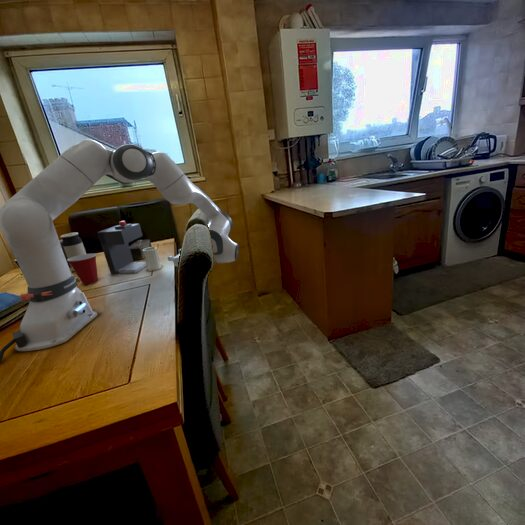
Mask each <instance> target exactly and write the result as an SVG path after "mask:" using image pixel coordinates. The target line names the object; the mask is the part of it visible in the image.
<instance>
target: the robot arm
mask: <svg viewBox="0 0 525 525" xmlns="http://www.w3.org/2000/svg"><path fill="white" fill-rule="evenodd" d="M104 176H106V177H108V178H110V179H112V180H113V181H115V182H117V183H120V184H124V185H129V184H133V183H136V182H139V181H141V180H143V179H144V180H147V181H149V182H150V183H151V184H153V185H154V187H155V188H156V189H157V191H158V192H159V193H160V194H161V195H162V196H163V198H164V199H165V200H166V201H167V202H169V203H170V204H172V205H175V206H184V205H187V204H192V205H194V206H196V208H197V209H198V210H199V211H200V212H202V214H203V215H205V217H206V218H207V222H208V223H207V225H208V227H209V231H210V235H211V240H212V245H213V252H214V262H213V263H217V264H225V263H233V262H235V261H237V259H238V258H239V257H238V256H239V252H240V248H239V247H240V246H239V244H238V243H237V242H234V240H232V239H231V238H230V237H229V234H230V232H231V231H232V230H233V227H234V223H233V220H232V218H231V217H230V216H229V215H228V214H227V213H226V212H224V211H223V210H222V209H220V208H219V207H218V206H217V205H216V204H215V203H214V201H213V200H212V199H211V198H210V197H209V196H208V195H207V193H205V191H204V190H202V189H201V187H199V186H198V185H197V184H194V183H193V182H192V180H190V179H189V177H188V176H187V175H186V174H185V173H184V172H183V171H182V169H181V168H180V167H179V166H178V164H177V163H176V162H175V161H174V160H173V159H172V158H171V157H170V156H168V154H167V153H165V152H164V151H163V152H162V151H155V152H150V151H147V150H145V149H143V148H142V147H140V146H139V145H135V144H132V143H128V144H127V143H126V144H122V145H120V146H118V147H117V148H116V149H113V150H112V149H107V148H106V147H105V146H103V144H101V143H100V142H98V141H97V140H93V139H90V138H87V139H83V140H81V141H78V142H77V143H75V144H74V145H72V146H71V147H69V148H67V149H66V150H65V151H63V152H62V153H61V154H60V155H59V156H57V157H56V158H55V159H54V160H52V162H50V164H48V165H47V166H46V167H45V168H44V169H42V171H40V172H39V173H38V174H37V175H36V176H35V177H33V178H32V179H31V180H30V181H28V183H26V184H25V185H24V186H23V187H22V188H21V189H20V190H18V191H17V192H16V193H15V194H14V195H12V196H11V197H10V198H9V199H8V200H6V201H5V202H4V203H3V204H2V206H1V207H0V230H1V233H2V234H3V236H4V239H5V241H6V243H7V245H8V246H9V248H10V250H11V252H12V255H13V257H14V259H15V261H16V263H17V265H18V267H19V269H20V271H21V273H22V276H23V278H24V280H25V282H26V284H27V293H20V294H19V300H20V301H21V302H24V301H28V302H29V303H28V305H27V308H26V310H25V312H24V315H23V317H22V320H21V322H20V324H19V330H16V331H14V332H12V336H13V337H12V338H13V339H11V340H10V341H9V342H8V343H6V344H5V345H4V346H3V347H2V348H1V349H0V363H1V362H2V360H3V358H4V354H5V353H6V351H7V350H8V349H10V347H12V346H13V345H14V344H15V346H14V349H15V351H17V352H32V351H39V350H45V349H48V348H53V347H56V346H58V345H59V346H60V345H61V344H65V343H66V342H68V341H69V340H70V339H72V338H73V337H74V336H75V335H76V334H78V332H80V331H81V330H82V329H83V328H84V327H86V326H87V325H88V324H89V323H91V321H93V320H94V319H95V318H97V317H98V315H99V314H98V313H97V311H96V310H93V309H92V306H91V304H90V302H89V301H88V298H87V297H86V294H85V293H84V291H83V292H82V290H81V289H79V288H78V283H77V278H76V277H75V276H74V274H73V273H72V271H71V269H70V267H69V266H68V264H67V261H66V258H65V256H64V253H63V250H62V247H61V244H60V241H59V240H60V238H59V235H58V233H57V229H56V227H55V225H54V220H55V219H57V218H58V217H59V216H60V215H61V214H63V213H64V212H66V210H68V209H69V208H70V207H71V206H73V205H74V204H75V203H76V202H78V201H79V199H81V198H82V196H84V195H85V194H86V193H87V192H88V191H89V190H90V189H91V188H92V187H93V186H94V185H95V184H96V183H97V182H98V181H99V180H100V179H101V178H103V177H104ZM181 249H182V248H179V249H177V252H178V254H176V255H175V256H173V255H169V256H168V257H167V261H169V262H172V263H173V266H174V267H178V262H179V256H180V251H181ZM178 268H179V267H178Z"/></svg>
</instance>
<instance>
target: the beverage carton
mask: <svg viewBox="0 0 525 525" xmlns="http://www.w3.org/2000/svg"><path fill="white" fill-rule="evenodd" d="M151 242H152V241H151V239H137V240H136V241H135V242H134V243H132V244H131V245H129V248H130V251H131V255H132V258H133V261H138V260H142V259H145V258H144V254H143V251H142V250H143V249H145V248H148V247H153V245H152V243H151Z"/></svg>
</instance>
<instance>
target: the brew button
mask: <svg viewBox="0 0 525 525" xmlns="http://www.w3.org/2000/svg"><path fill="white" fill-rule="evenodd" d="M118 223H119V225H121V226H122V225H126V224H127V222H126V220H121V221H118Z"/></svg>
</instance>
